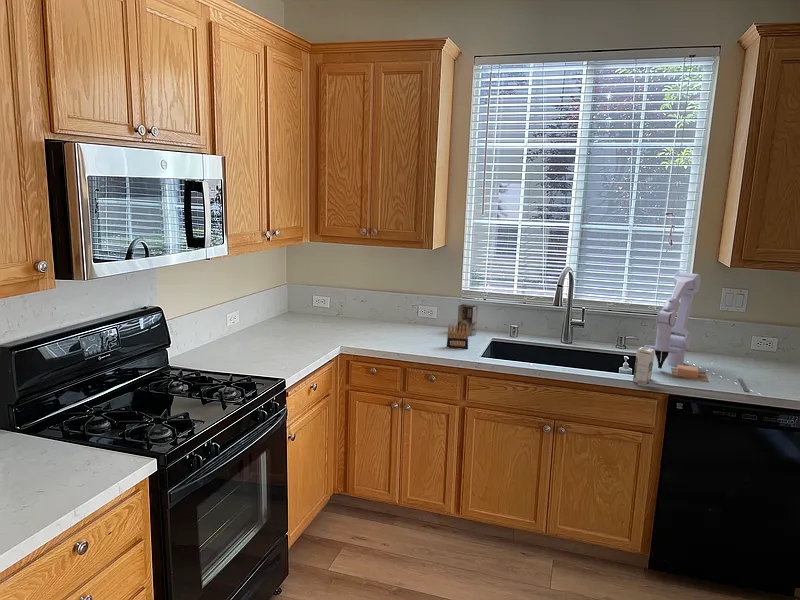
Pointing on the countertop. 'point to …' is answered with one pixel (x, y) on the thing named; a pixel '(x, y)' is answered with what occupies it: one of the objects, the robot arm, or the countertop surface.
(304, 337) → the countertop surface
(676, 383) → the countertop surface
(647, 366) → the syrup box
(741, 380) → the slate mat
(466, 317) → the coffee box
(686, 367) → the terracotta tile
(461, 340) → the ammunition clip
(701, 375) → the walnut deck
